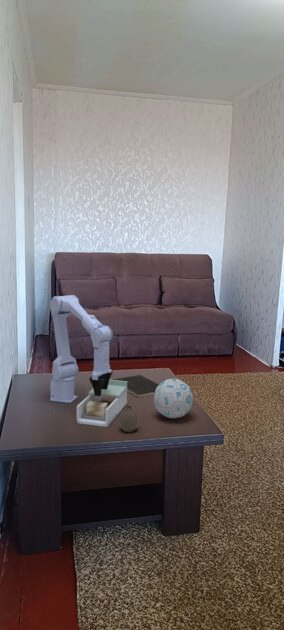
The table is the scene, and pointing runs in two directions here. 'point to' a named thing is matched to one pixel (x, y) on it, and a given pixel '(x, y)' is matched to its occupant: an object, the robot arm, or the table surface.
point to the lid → (113, 388)
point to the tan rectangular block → (96, 409)
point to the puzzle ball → (173, 398)
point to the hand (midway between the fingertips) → (101, 392)
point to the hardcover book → (139, 385)
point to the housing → (109, 413)
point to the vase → (128, 419)
